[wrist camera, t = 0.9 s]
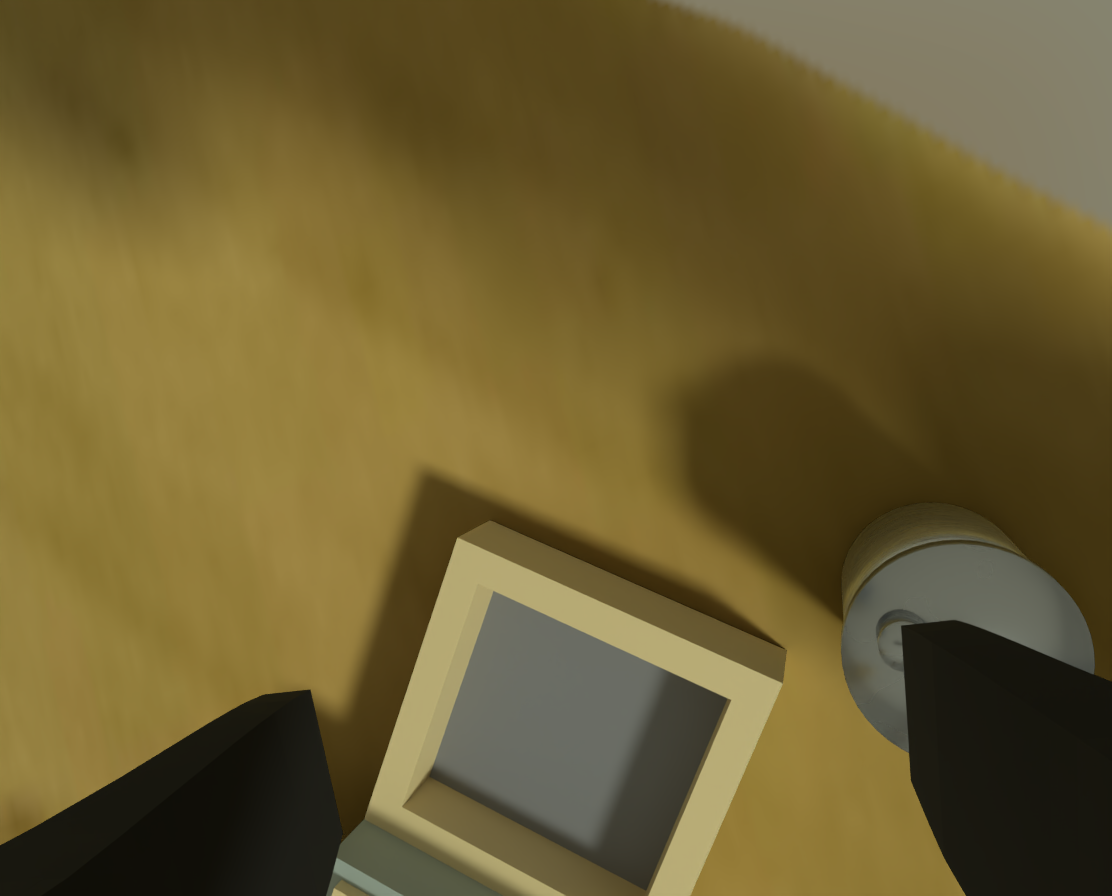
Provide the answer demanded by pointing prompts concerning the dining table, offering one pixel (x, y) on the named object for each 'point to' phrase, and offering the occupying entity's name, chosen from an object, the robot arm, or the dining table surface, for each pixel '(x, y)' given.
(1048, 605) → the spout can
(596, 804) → the drawer
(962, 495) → the dining table surface
